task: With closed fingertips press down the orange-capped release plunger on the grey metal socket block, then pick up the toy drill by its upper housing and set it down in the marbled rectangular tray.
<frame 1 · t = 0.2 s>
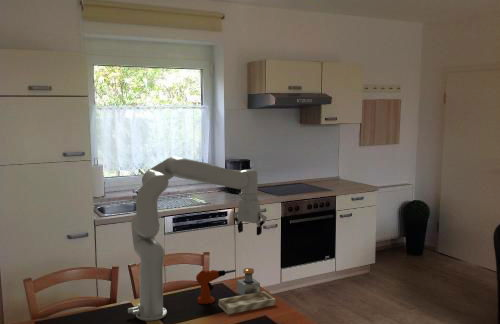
hand: (249, 233, 210), 30 cm above the table, fingers open, 9 cm apart
socket block: (248, 293, 215), on the table
toy drill: (215, 301, 206), on the table
marbled rectangular tray: (247, 305, 202), on the table
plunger: (248, 279, 214), point 7 cm above the table, slide at 0.0 cm
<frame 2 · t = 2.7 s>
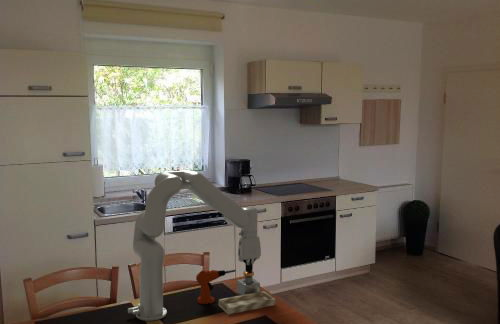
hand: (249, 272, 214), 11 cm above the table, fingers closed
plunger: (248, 281, 214), point 6 cm above the table, slide at 1.2 cm, touching gripper
everything else where it was.
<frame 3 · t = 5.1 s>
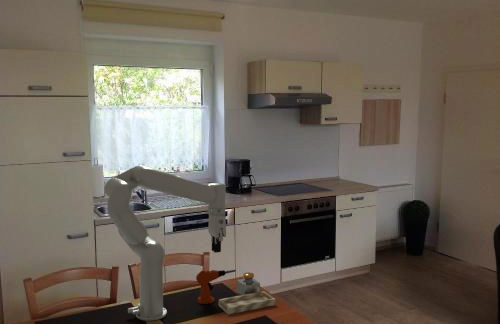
hand: (216, 251, 204), 23 cm above the table, fingers closed
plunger: (248, 283, 215), point 5 cm above the table, slide at 2.2 cm
everything else where it was.
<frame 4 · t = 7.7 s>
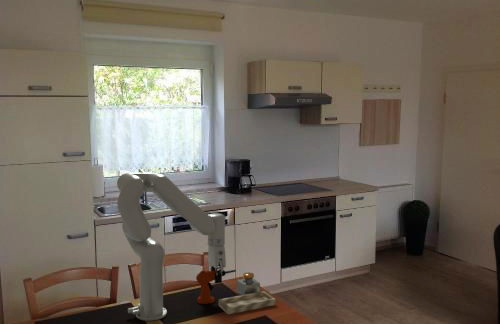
hand: (216, 280, 206), 9 cm above the table, fingers closed on toy drill, 4 cm apart
toy drill: (215, 301, 206), on the table, touching gripper
everything else where it was.
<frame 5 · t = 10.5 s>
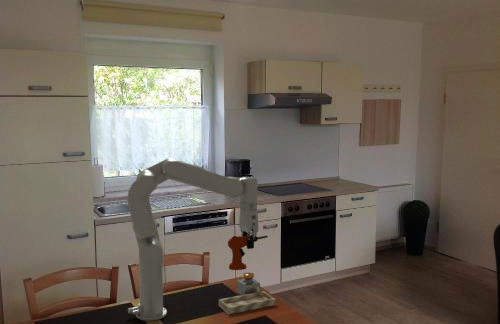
hand: (247, 246, 199), 27 cm above the table, fingers closed on toy drill, 4 cm apart
toy drill: (247, 267, 200), point 17 cm above the table, touching gripper
everything else where it was.
when the fingers open (11 cm above the table, at t = 13.5 s): toy drill stays where it is, resting on marbled rectangular tray.
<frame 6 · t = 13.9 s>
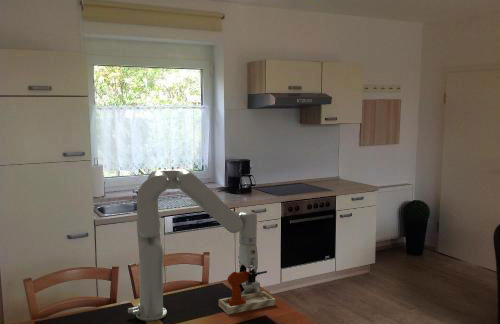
hand: (247, 279, 201), 12 cm above the table, fingers open, 8 cm apart
toy drill: (247, 303, 202), point 1 cm above the table, touching marbled rectangular tray
everything else where it was.
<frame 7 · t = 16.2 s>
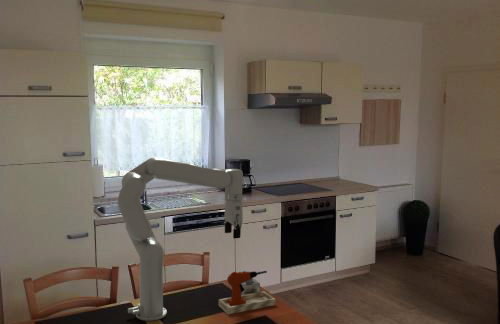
hand: (232, 235, 202), 31 cm above the table, fingers open, 9 cm apart
nothing on the table moved.
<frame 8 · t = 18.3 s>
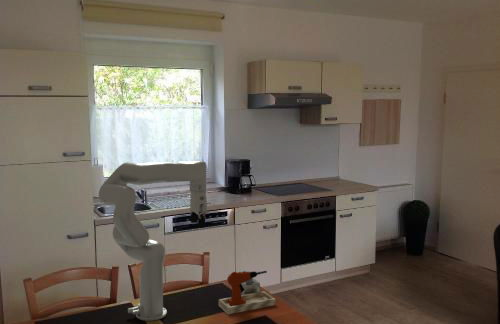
hand: (197, 224, 210), 33 cm above the table, fingers open, 9 cm apart
nothing on the table moved.
at the end: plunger slide at 2.2 cm; toy drill 0.1 cm from the marbled rectangular tray (horizontally); the gripper is holding nothing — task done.
